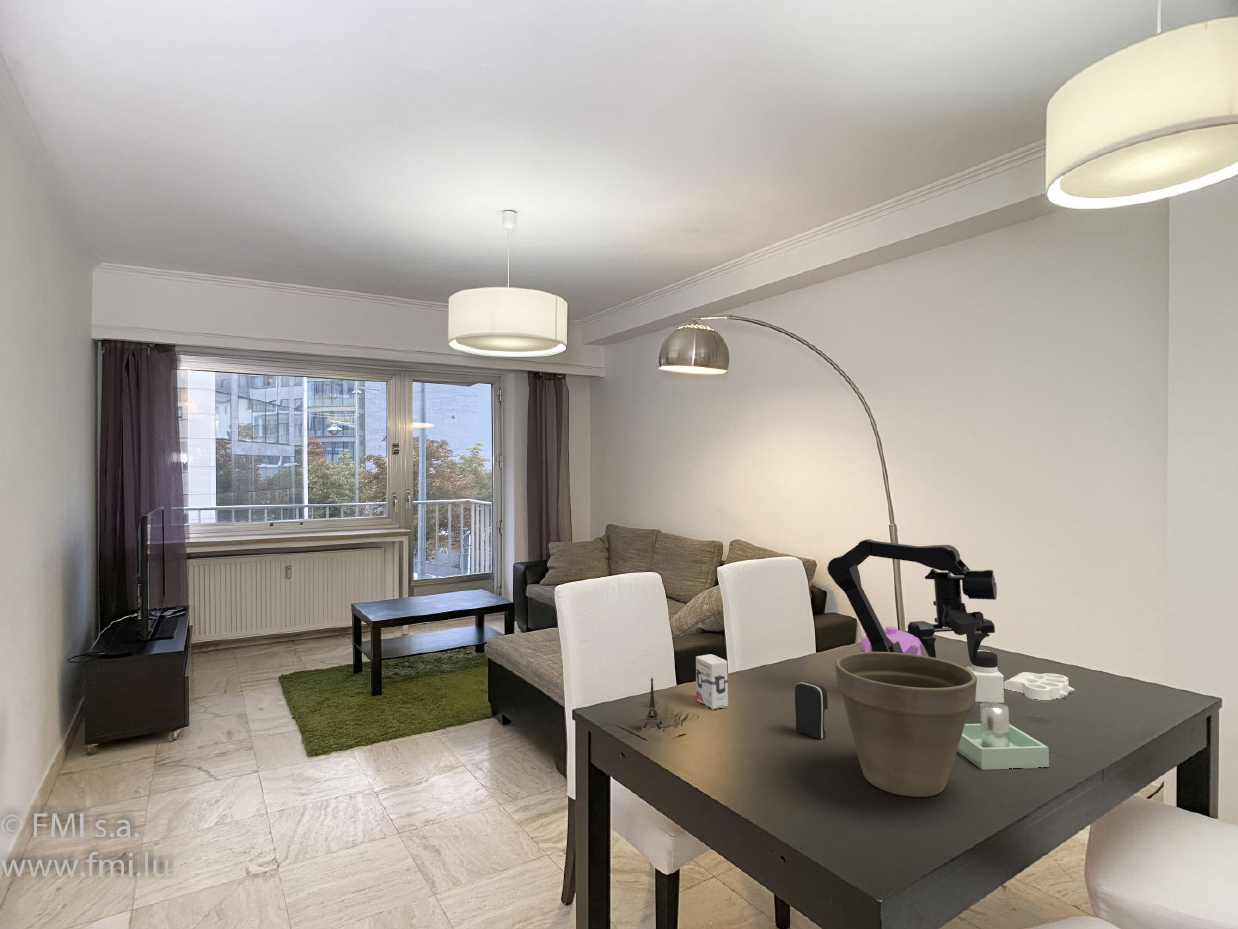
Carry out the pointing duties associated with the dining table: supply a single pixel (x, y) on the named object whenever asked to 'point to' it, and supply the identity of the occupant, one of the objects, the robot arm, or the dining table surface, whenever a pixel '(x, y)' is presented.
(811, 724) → the battery charger
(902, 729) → the plant pot
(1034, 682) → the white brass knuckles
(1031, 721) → the dining table surface
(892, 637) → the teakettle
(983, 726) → the can
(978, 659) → the medicine bottle
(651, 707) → the eiffel tower figurine
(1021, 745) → the tray
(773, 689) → the dining table surface
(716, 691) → the ink box
